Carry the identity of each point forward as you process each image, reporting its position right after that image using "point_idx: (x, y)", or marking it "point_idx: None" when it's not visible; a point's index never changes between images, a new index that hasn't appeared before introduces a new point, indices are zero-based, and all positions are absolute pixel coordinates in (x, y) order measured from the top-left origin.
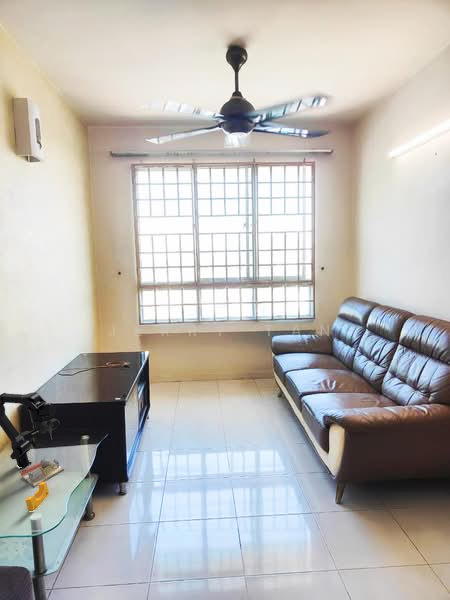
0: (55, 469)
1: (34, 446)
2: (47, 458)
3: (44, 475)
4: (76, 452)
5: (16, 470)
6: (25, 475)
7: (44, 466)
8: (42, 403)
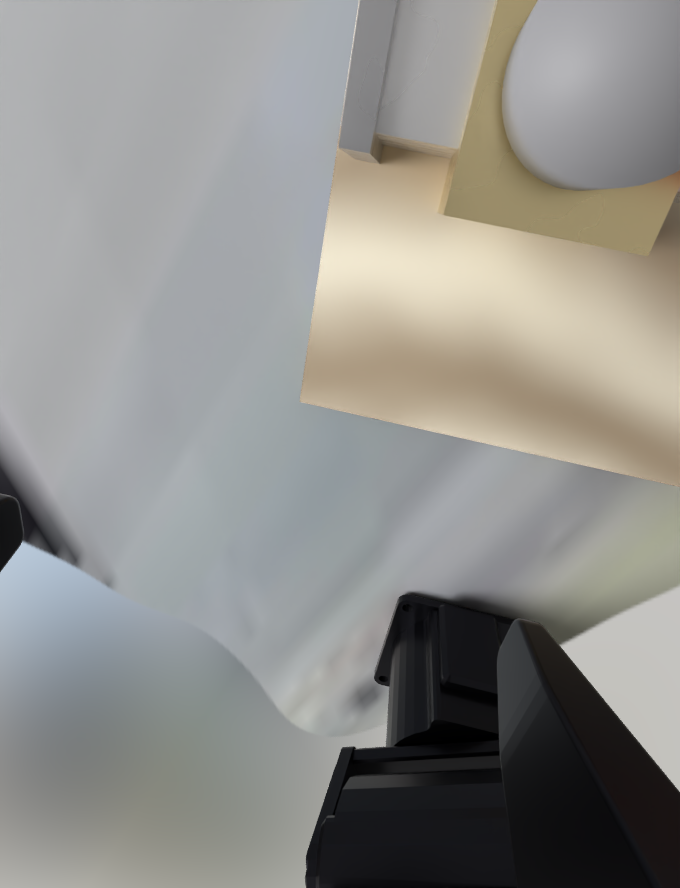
0: None
1: (581, 686)
2: (544, 67)
3: None
4: (3, 202)
5: None
6: (675, 436)
7: None
8: None
